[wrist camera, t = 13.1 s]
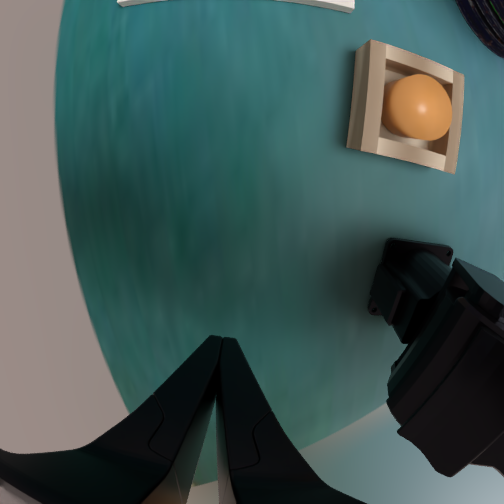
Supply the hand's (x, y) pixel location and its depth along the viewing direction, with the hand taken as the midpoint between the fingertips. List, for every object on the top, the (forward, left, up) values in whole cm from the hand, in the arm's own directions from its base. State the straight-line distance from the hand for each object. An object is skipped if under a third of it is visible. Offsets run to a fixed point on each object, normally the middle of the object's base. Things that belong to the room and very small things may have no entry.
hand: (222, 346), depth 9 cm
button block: (-10, -10, -12) cm, 18 cm away
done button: (-10, -10, -11) cm, 18 cm away
